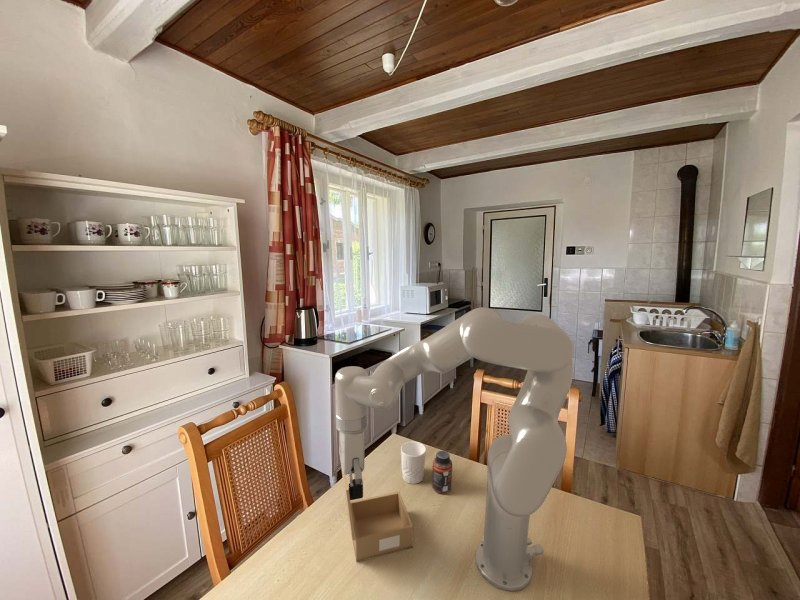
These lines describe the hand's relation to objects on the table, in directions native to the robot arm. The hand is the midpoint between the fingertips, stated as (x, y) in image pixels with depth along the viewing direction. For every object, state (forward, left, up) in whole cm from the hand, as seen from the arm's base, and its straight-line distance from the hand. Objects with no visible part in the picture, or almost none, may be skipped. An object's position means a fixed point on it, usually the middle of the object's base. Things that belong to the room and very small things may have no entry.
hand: (352, 483), depth 83 cm
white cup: (-22, -18, -16) cm, 32 cm away
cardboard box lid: (+1, 0, -3) cm, 3 cm away
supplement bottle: (-29, -11, -16) cm, 35 cm away
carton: (-7, 0, -16) cm, 17 cm away
